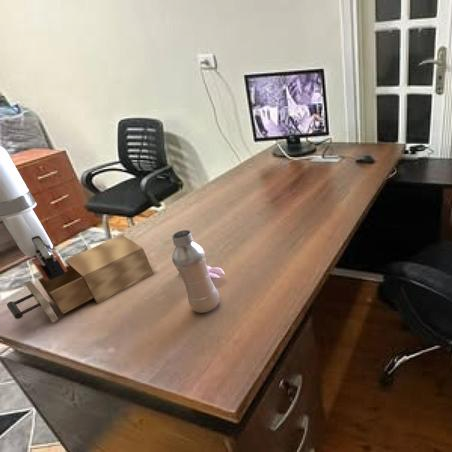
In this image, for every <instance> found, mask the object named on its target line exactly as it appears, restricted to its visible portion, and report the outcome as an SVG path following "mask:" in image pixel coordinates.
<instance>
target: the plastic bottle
mask: <svg viewBox="0 0 452 452" xmlns="http://www.w3.org/2000/svg"><path fill="white" fill-rule="evenodd" d="M171 238H172V241H173V246H174V247H175V248H174V250H173V252H172V254H171V259H172V263H173V265H174V267H175V269H176V270H177V271H178V274H179V273H180V275H179V276H181V279H182V281H183V283H184V286H185V290H186V294H187V300H188V304H189V306H190V308H191V309H192V310H193V311H194V312H196V313H199V314H203V313H208V312H210V311H212V310H214V309H215V308H216V307H217V306H218V304H219V303H220V293H219V291H218V289H217V288H216V286H215V284H214V282H213V280H212V278H210V276H209V272H208V269H207V266H208V265H207V259H206V252H205V249H204V248H203V247H202V246H201V245H199V244H198V243H196V242H195V241H194V236H193V235H192V232H191V230H189V229H182V230H179V231H176V232H175V233H173V234H172V236H171Z"/></svg>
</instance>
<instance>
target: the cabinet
mask: <svg viewBox="0 0 452 452" xmlns="http://www.w3.org/2000/svg"><path fill="white" fill-rule="evenodd" d="M64 261H65V263H66V266H68V265H70V266H71V267H72V268H73V269H74V270H75V271H76V272H77V273H78V274H80V275H81V276H82V277H83V279H84V281H85V282H86V284H87V286H88V288H89V290H90V291H91V293H92V295H93V297H94V298H92V299H91V300H93V301H94V302H96V304H99V303H102V302H103V301H105V300H107V299H109V298H110V297H112V296H114V295H116V294H118V293H120V292H121V291H123V290H125V289H127V288H129V287H131V286H133V285H135V284H136V283H138V282H140V281H142V280H144V279H146V278H147V277H149V276H151V275H153V274H154V271H153V268H152V266H151V264H150V262H149V259H148V256H147V254H146V251H145V249H144V247H143V246H142V245H140V244H138V243H137V242H135V241H134V240H132V239H131V238H128V237H127V236H125V235H124V234H121V235H118V236H116V237H114V238H111V239H109V240H107V241H105V242H103V243H101V244H98V245H96V246H94V247H91V248H89V249H87V250H85V251H82V252H80V253H78V254H75V255H73V256H71V257H69V258H66V259H65V260H64Z"/></svg>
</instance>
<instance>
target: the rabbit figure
mask: <svg viewBox="0 0 452 452" xmlns="http://www.w3.org/2000/svg"><path fill="white" fill-rule="evenodd" d="M207 269H208V272H209V276H210V278H211V279H212V278H214V279H221V276H219V275H222V276H225V272H224V270H223V269H222V268H220V267H216V266H215V267H211V266H209V265H207ZM178 275H179V276H181V275H180V273H179V272H178Z"/></svg>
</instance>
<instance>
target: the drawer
mask: <svg viewBox="0 0 452 452" xmlns="http://www.w3.org/2000/svg"><path fill="white" fill-rule="evenodd" d="M64 266H65V265H64ZM65 268H66V269H67V272H65V273H64V274H62V275H60V276H58V277H56V278H54V279H52V280H48V281H46V280H45V279H44V278H43V277H42V276H41V277H39V278H38V279H37V280H38V282H39V283H40V285H41V287H42V288H43V290H44V291H45V293H46V295H47V296H48V298H49V299H50V301H51V302H52V303H53V304H54V305H55V307H57V308H58V310H59V311H60V312H61V313H62V314H63V315H64V314H66V313H68V312H70V311H72V310H73V309H75V308H78V307H80V306H81V305H83V304H85V303H87V302H89V301H91V300H93V299H92V298H94V297H93V295H92V293H91V291H90V290H89V288H88V286H87V284H86V282H85V281H84V279H83V277H82V276H81V275H80V274H78V273H77V272H76V271H75V270H74V269H73V268H72V267H71V266H70V265H66V266H65ZM24 285H25V287H26V288H27V290H28V291H29V293H30V294H28V295H26V296H24V297H22V298H19V299H17V300H15V301H8V302H7V303H6V307H7V309H8V310H9V311H10V313H11V315H12V317H14V319H16V320H19V319H22V318H23V316H24V315H25V314H28V313H29V312H31V311H33V310H35V309H38V308H40V309H41V310H42V311H43V312H44V314H45V315H46V316H47V317H48V319H49V320H50V321H51V323H54V322H57V321H58V320H59V317H58V316H57V314H56V313H55V312H54V309H53V308H52V307H51V305H50V304H49V302H48V301H47V299H46V298H45V296H44V294H43V293H42V292H41V291H40V290H39V289H38V287H36V285H35V284H34V283H33V282H32V280H27V281H25V282H24ZM31 298H34V300H35V302H36V304H34V305H31V306H30V307H28V308H26V309H24V310H22V311H21V310H20V309H19V307H18V306H17V305H19V304H21V303H22V302H25V301H27V300H29V299H31Z"/></svg>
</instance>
